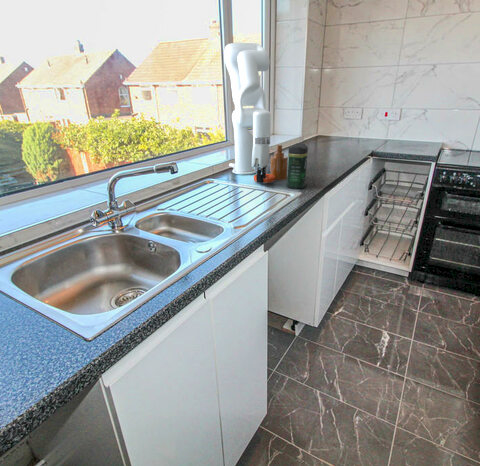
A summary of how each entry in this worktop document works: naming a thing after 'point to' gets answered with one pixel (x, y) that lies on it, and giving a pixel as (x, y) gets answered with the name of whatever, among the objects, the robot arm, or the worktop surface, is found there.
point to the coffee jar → (297, 166)
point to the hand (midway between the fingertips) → (261, 181)
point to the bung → (268, 178)
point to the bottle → (279, 164)
